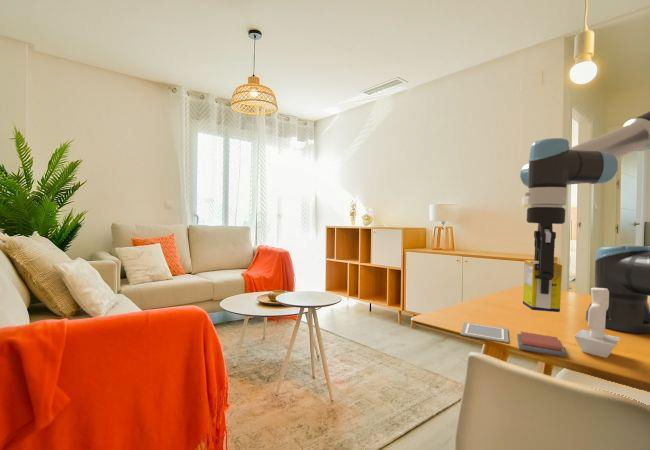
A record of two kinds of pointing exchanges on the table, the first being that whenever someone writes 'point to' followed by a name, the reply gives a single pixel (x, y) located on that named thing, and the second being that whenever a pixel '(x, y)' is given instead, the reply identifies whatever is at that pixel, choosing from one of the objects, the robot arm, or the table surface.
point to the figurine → (597, 327)
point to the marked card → (485, 332)
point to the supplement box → (531, 286)
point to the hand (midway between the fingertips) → (541, 303)
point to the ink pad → (540, 344)
